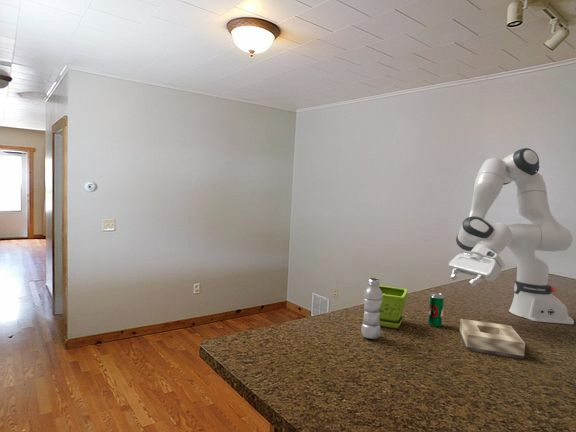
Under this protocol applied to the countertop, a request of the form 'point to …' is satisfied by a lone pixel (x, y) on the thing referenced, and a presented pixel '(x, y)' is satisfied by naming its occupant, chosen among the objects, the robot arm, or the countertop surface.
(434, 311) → the soda can
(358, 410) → the countertop surface
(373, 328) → the plastic bottle
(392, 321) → the flower pot
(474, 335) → the can holder
